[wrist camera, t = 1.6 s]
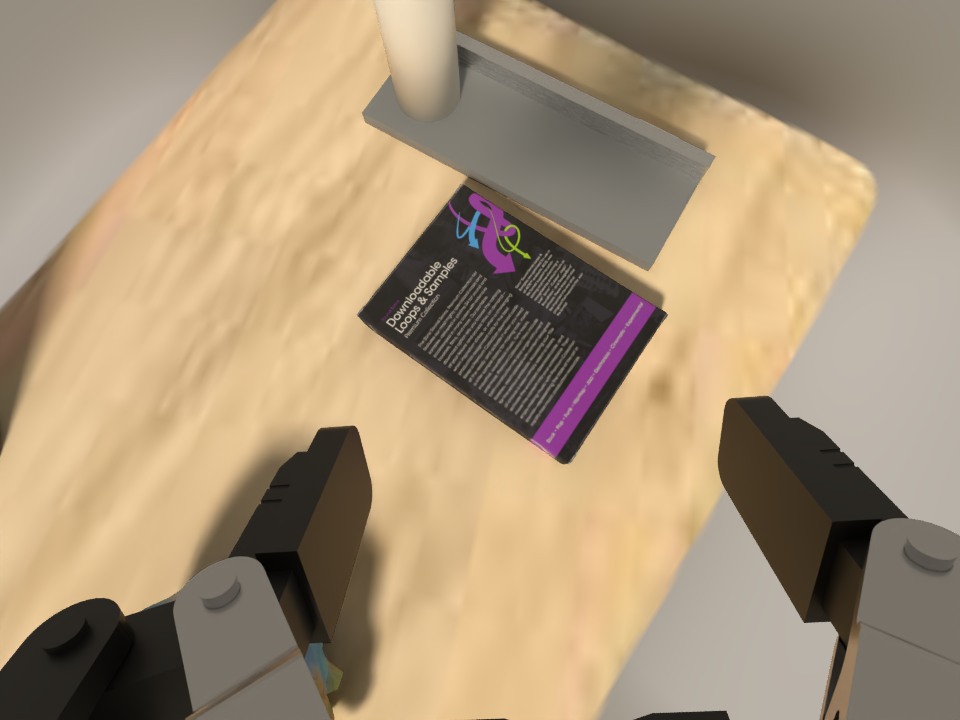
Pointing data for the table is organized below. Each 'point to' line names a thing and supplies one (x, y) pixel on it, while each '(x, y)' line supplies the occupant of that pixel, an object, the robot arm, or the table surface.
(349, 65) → the table surface
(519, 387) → the box
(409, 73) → the cream bottle
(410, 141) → the shelf board
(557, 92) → the rail
